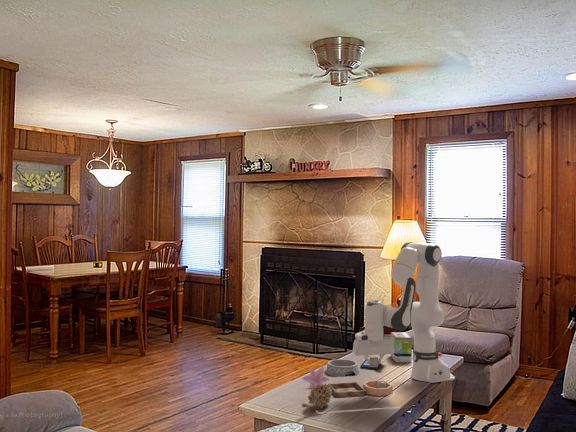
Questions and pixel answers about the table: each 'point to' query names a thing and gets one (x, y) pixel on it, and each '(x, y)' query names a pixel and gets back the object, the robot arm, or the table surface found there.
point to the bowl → (373, 388)
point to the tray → (347, 389)
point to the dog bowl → (342, 367)
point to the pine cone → (319, 396)
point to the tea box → (402, 347)
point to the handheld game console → (368, 366)
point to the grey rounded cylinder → (381, 384)
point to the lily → (316, 377)
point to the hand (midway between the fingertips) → (373, 363)
